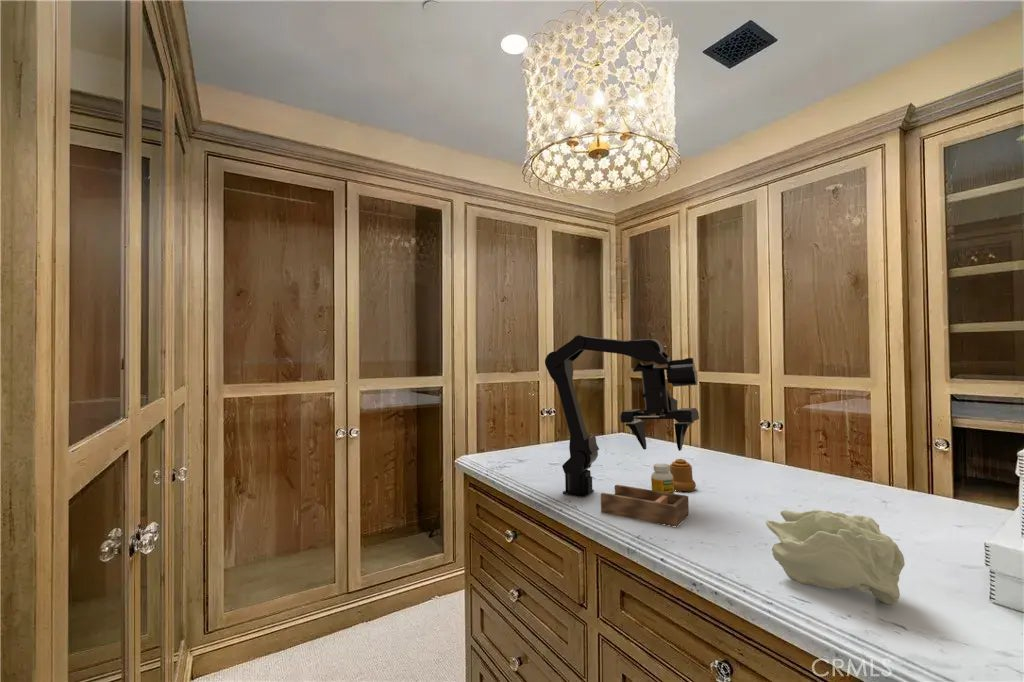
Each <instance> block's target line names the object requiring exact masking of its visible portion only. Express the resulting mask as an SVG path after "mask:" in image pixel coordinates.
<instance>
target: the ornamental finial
mask: <svg viewBox="0 0 1024 682" xmlns="http://www.w3.org/2000/svg"><path fill="white" fill-rule="evenodd" d="M669 465H670V472H669V473H671V474H672V475H673V482H674V490H676V491H675V492H678V491H691V492H693V491H694V490H695V489H696V487H697V484H696V482H695V480H694V478H693V477H694V476H693V466H692V465H691V464H690V463H689V462H688V461H687V460H686V459H683V458H677V459H675V460H674V461H672V463H670V464H669ZM692 490H693V491H692Z"/></svg>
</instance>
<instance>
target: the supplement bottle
mask: <svg viewBox="0 0 1024 682" xmlns="http://www.w3.org/2000/svg"><path fill="white" fill-rule="evenodd" d="M653 471H654V472H652V473H651V477H650V480H651V481H650V482H651V483H650V484H651V490H654V491H660V492H666V493H673V494H675V491H674V482H673V475H672V474H671V473H670V464H667V463H654V464H653Z"/></svg>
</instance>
